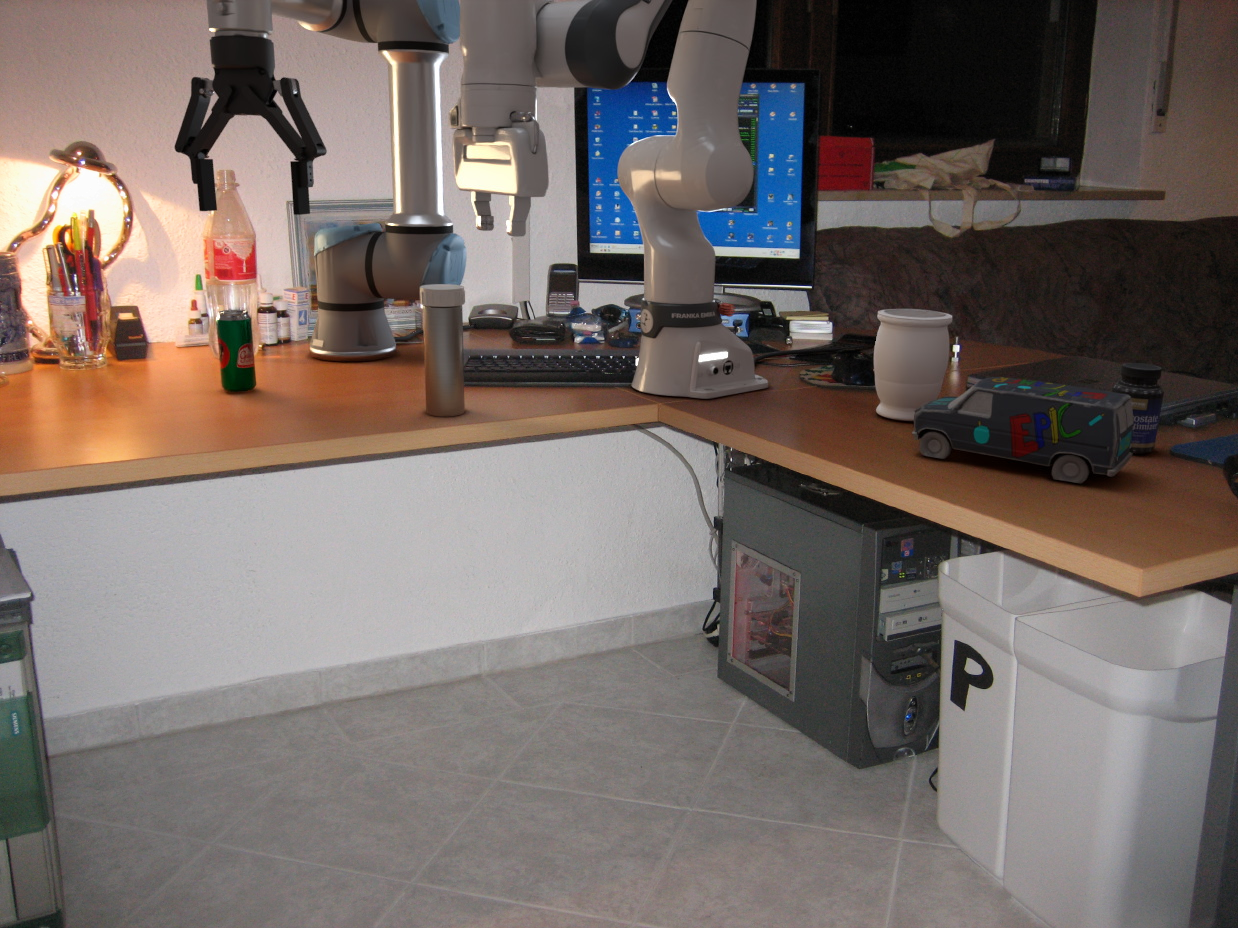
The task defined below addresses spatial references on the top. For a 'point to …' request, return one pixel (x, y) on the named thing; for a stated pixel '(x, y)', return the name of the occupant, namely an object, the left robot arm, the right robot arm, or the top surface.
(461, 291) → the lid
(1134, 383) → the pill bottle
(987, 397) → the toy van
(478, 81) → the right robot arm
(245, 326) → the soda can
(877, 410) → the jar
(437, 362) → the metal thermos bottle
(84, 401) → the top surface
